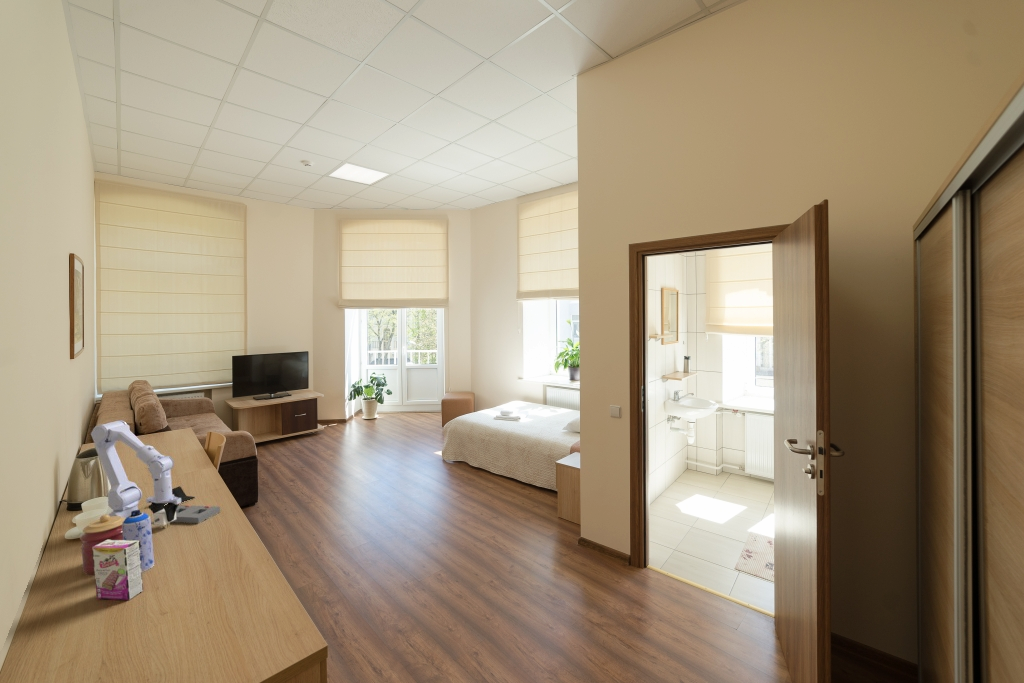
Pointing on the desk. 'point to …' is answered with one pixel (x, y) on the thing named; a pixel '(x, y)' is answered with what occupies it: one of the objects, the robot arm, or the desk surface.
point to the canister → (99, 537)
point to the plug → (161, 519)
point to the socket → (194, 513)
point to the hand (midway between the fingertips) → (165, 520)
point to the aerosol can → (140, 536)
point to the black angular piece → (180, 494)
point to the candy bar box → (117, 569)
